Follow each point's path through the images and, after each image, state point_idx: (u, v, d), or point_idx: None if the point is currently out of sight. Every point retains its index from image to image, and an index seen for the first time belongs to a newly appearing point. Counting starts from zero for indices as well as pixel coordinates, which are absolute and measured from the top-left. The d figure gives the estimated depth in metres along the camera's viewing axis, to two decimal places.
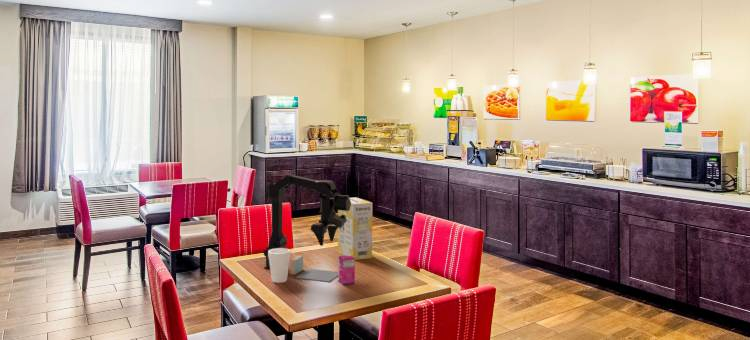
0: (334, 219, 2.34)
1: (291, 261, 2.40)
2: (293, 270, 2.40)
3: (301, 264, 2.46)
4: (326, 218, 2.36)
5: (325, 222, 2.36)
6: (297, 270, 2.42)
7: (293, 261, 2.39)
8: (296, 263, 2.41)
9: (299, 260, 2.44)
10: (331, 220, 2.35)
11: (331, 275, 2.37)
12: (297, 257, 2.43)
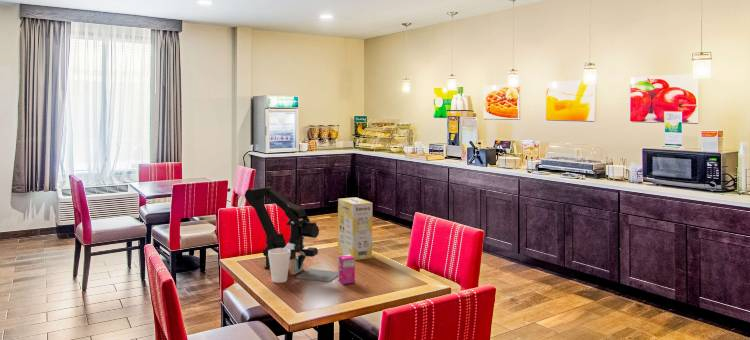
0: None
1: (291, 261, 2.40)
2: (293, 270, 2.40)
3: None
4: None
5: None
6: (297, 270, 2.42)
7: (293, 261, 2.39)
8: (296, 263, 2.40)
9: None
10: None
11: (331, 275, 2.37)
12: (297, 257, 2.43)
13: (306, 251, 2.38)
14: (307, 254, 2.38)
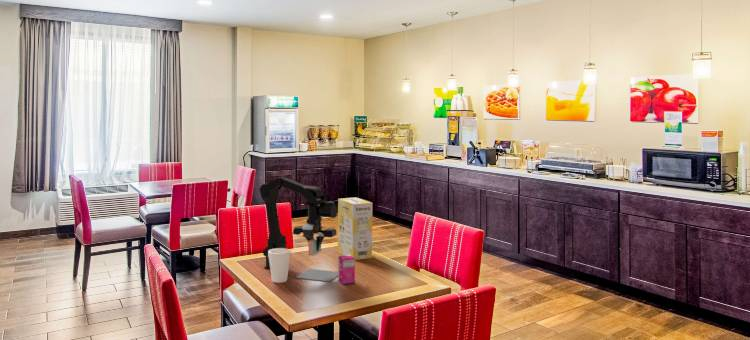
0: None
1: (309, 242, 2.34)
2: (311, 251, 2.34)
3: None
4: None
5: None
6: (315, 251, 2.36)
7: (311, 242, 2.33)
8: (314, 244, 2.35)
9: None
10: None
11: (331, 275, 2.37)
12: (315, 238, 2.37)
13: (325, 232, 2.32)
14: (326, 235, 2.32)
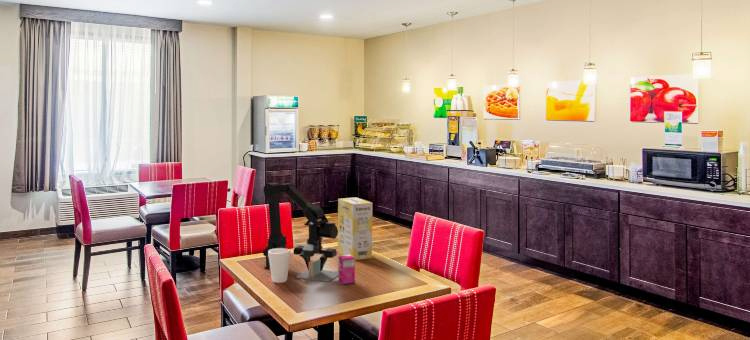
0: None
1: (309, 263, 2.35)
2: (311, 273, 2.35)
3: (319, 266, 2.41)
4: None
5: None
6: (315, 272, 2.37)
7: (311, 263, 2.34)
8: (314, 265, 2.36)
9: (318, 262, 2.39)
10: None
11: (331, 275, 2.37)
12: (315, 260, 2.38)
13: (325, 252, 2.33)
14: (326, 255, 2.33)
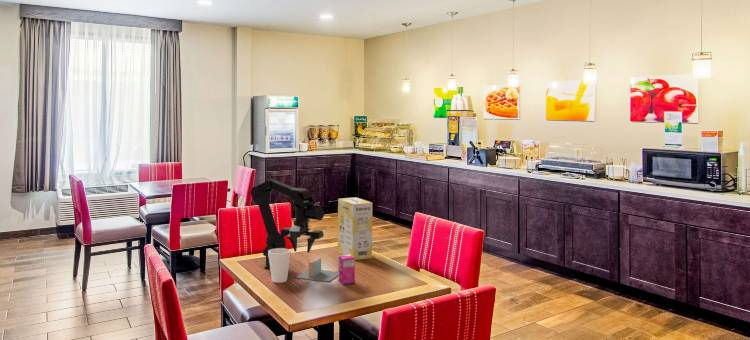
0: None
1: (309, 263, 2.35)
2: (311, 273, 2.35)
3: (319, 266, 2.41)
4: None
5: None
6: (315, 272, 2.37)
7: (311, 263, 2.34)
8: (314, 265, 2.36)
9: (318, 262, 2.39)
10: None
11: (331, 275, 2.37)
12: (315, 260, 2.38)
13: (311, 233, 2.34)
14: (312, 236, 2.34)
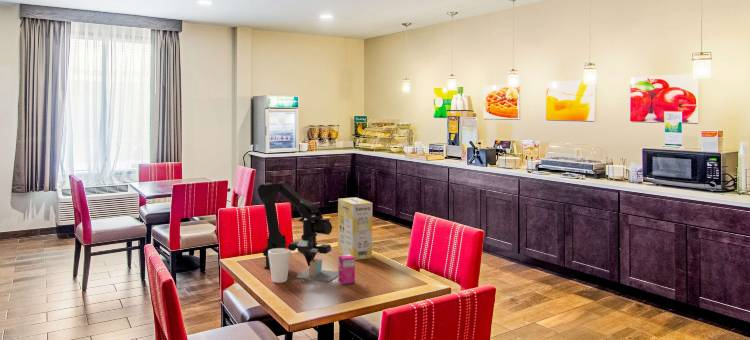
0: None
1: (311, 263, 2.35)
2: (312, 272, 2.35)
3: (320, 266, 2.40)
4: None
5: None
6: (316, 273, 2.37)
7: (313, 263, 2.34)
8: (315, 266, 2.35)
9: (319, 262, 2.39)
10: None
11: (331, 275, 2.37)
12: (317, 260, 2.38)
13: (319, 248, 2.34)
14: (320, 251, 2.33)
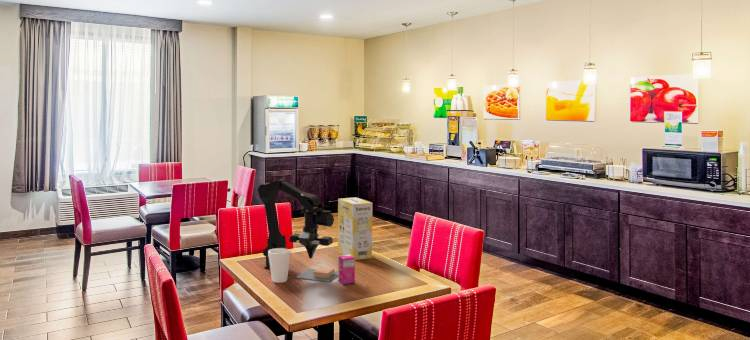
0: None
1: (325, 274, 2.33)
2: (317, 275, 2.34)
3: None
4: None
5: None
6: None
7: (326, 276, 2.33)
8: None
9: None
10: None
11: None
12: (331, 274, 2.37)
13: (321, 240, 2.33)
14: (322, 243, 2.33)
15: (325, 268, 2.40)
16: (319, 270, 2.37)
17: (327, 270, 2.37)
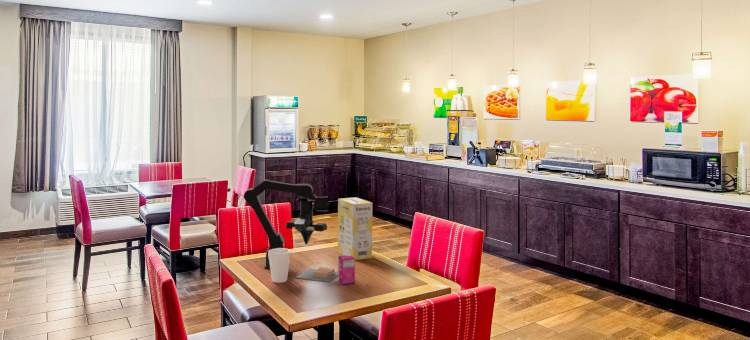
0: None
1: (325, 274, 2.33)
2: (317, 275, 2.34)
3: None
4: None
5: None
6: None
7: (326, 276, 2.33)
8: None
9: None
10: None
11: None
12: (331, 274, 2.37)
13: (316, 226, 2.44)
14: (317, 229, 2.44)
15: (325, 268, 2.40)
16: (319, 270, 2.37)
17: (327, 270, 2.37)
